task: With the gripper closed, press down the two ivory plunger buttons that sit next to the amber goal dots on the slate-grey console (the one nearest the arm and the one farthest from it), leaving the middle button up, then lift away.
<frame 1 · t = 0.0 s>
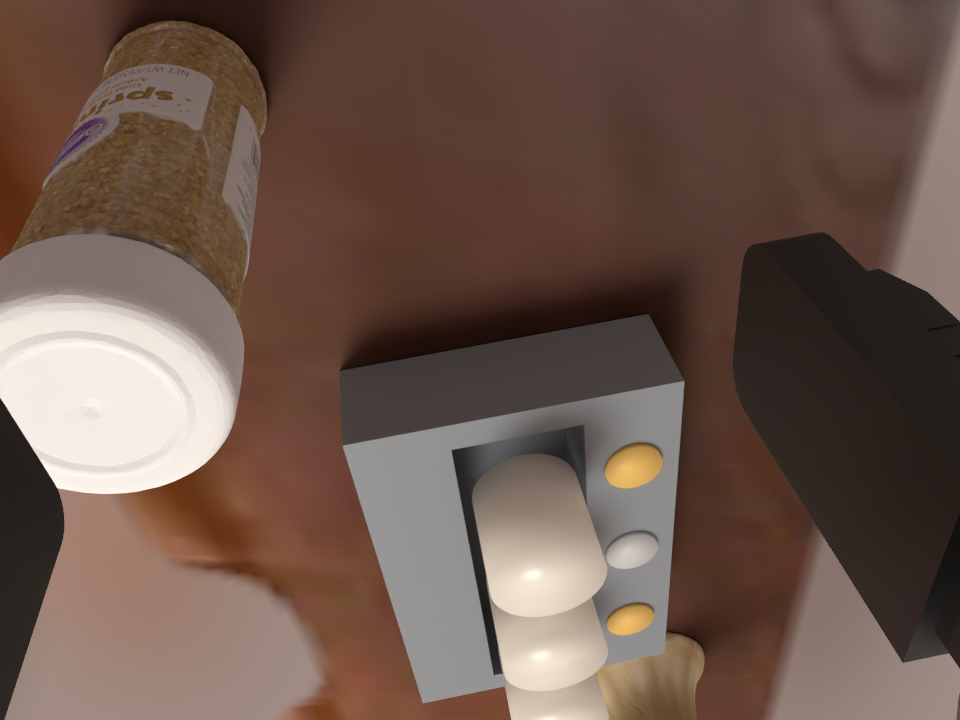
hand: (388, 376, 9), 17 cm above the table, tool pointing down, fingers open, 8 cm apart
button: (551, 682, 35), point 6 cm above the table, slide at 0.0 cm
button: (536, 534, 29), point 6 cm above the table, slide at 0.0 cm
console: (514, 495, 37), on the table
hand bell: (635, 668, 49), on the table
button middle: (544, 616, 32), point 6 cm above the table, slide at 0.0 cm
sprinkles bottle: (189, 95, 24), on the table
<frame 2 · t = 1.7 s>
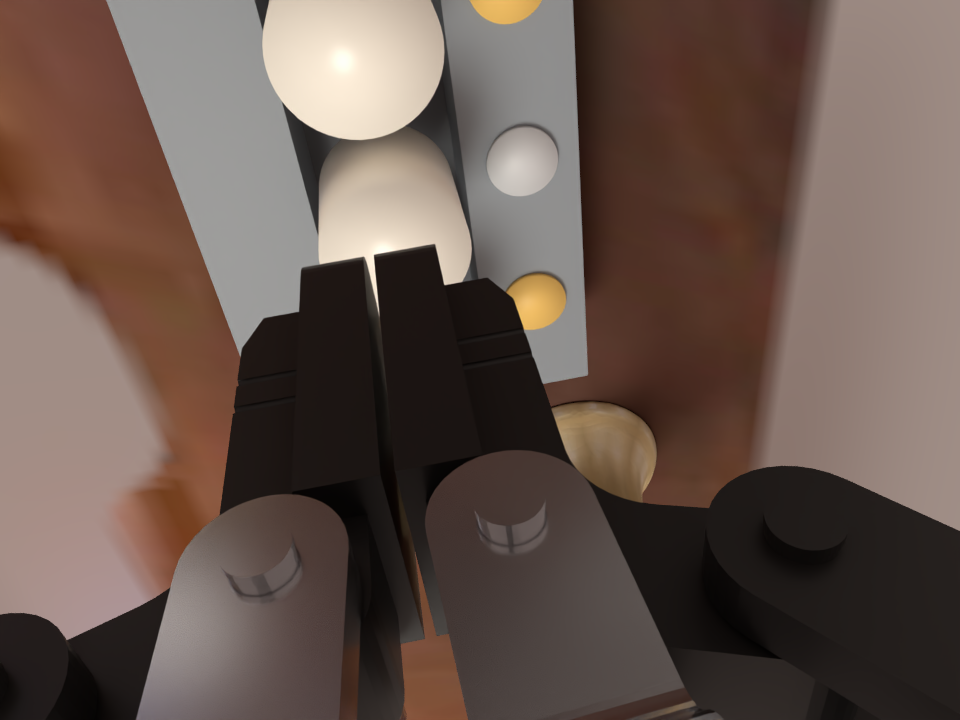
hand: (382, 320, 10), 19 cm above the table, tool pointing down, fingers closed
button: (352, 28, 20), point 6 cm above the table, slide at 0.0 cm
console: (378, 133, 28), on the table
hand bell: (570, 463, 39), on the table
button middle: (391, 219, 23), point 6 cm above the table, slide at 0.0 cm
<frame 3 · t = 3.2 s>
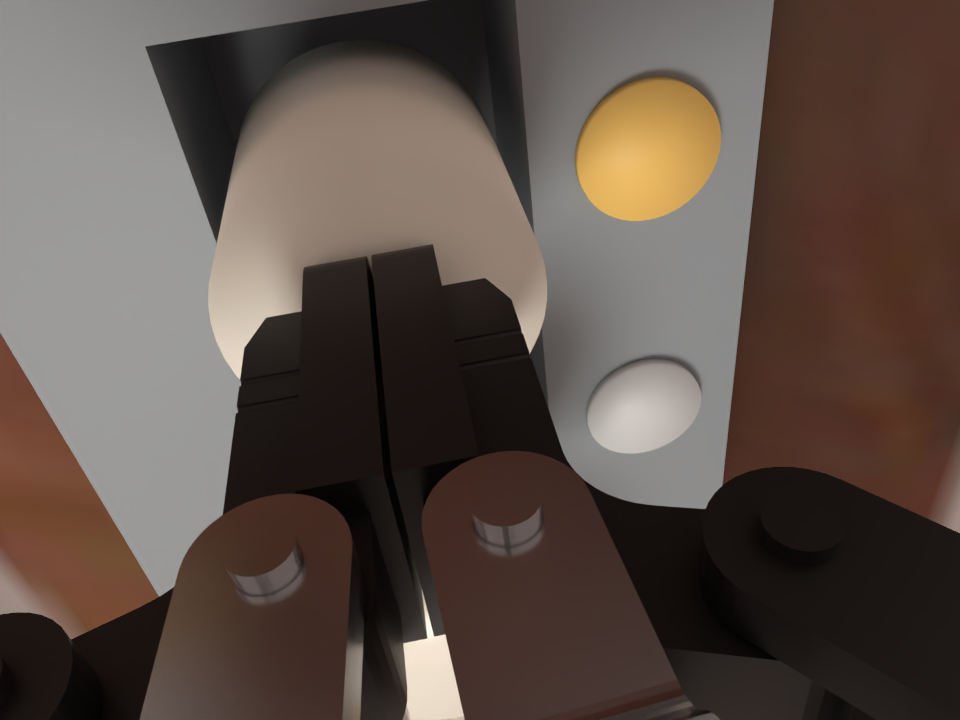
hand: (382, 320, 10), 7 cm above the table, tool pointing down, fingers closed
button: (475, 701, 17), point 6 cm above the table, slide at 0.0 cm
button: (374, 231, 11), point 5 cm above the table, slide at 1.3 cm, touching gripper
console: (407, 324, 18), on the table
button middle: (439, 540, 14), point 6 cm above the table, slide at 0.0 cm
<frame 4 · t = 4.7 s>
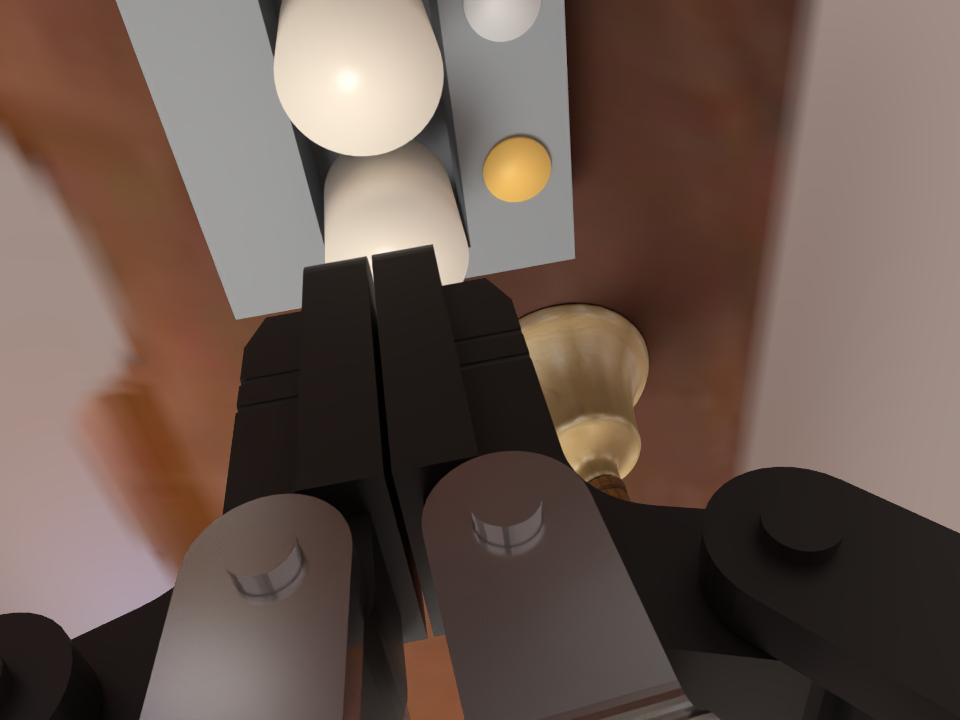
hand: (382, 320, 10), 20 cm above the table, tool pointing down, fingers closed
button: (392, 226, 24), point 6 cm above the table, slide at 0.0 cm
hand bell: (559, 374, 38), on the table
button middle: (356, 50, 21), point 6 cm above the table, slide at 0.0 cm
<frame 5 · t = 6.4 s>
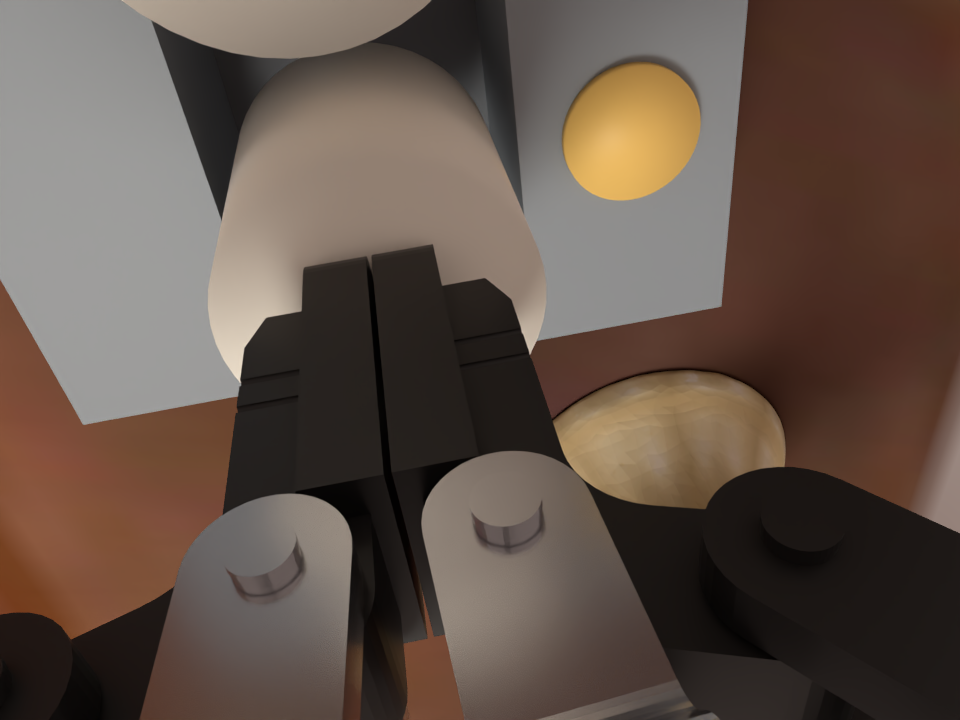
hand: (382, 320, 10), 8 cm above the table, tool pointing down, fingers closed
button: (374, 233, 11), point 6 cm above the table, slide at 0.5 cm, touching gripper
hand bell: (644, 473, 24), on the table
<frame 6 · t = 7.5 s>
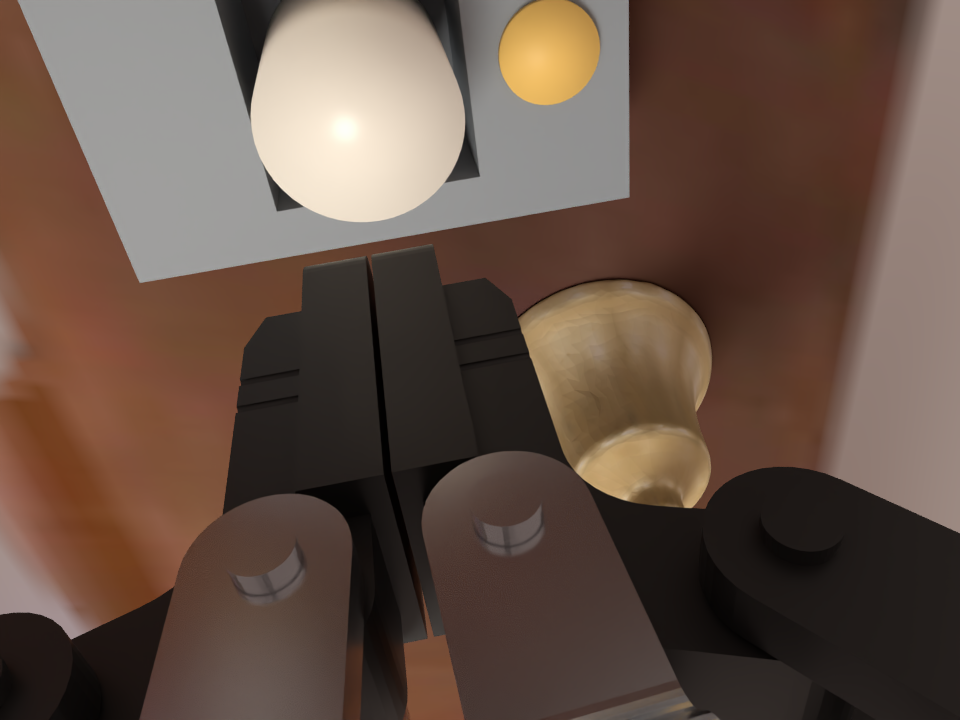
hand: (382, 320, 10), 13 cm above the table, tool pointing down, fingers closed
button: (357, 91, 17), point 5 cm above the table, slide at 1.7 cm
hand bell: (594, 376, 29), on the table
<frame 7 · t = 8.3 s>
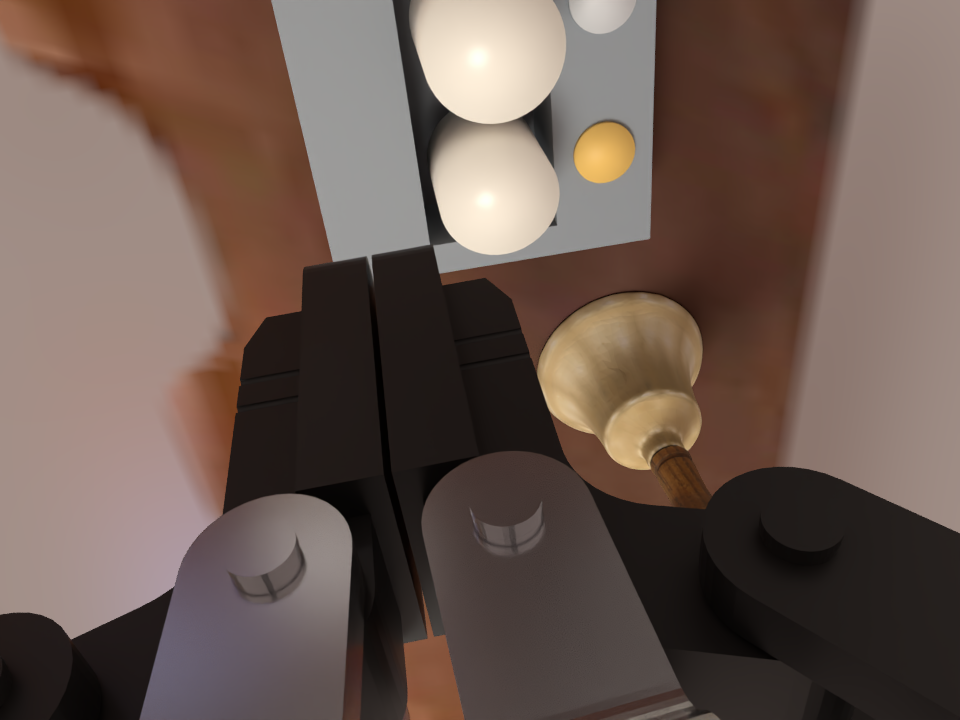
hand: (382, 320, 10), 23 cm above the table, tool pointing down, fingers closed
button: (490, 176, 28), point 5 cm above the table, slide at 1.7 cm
hand bell: (617, 361, 40), on the table
button middle: (483, 33, 24), point 6 cm above the table, slide at 0.0 cm
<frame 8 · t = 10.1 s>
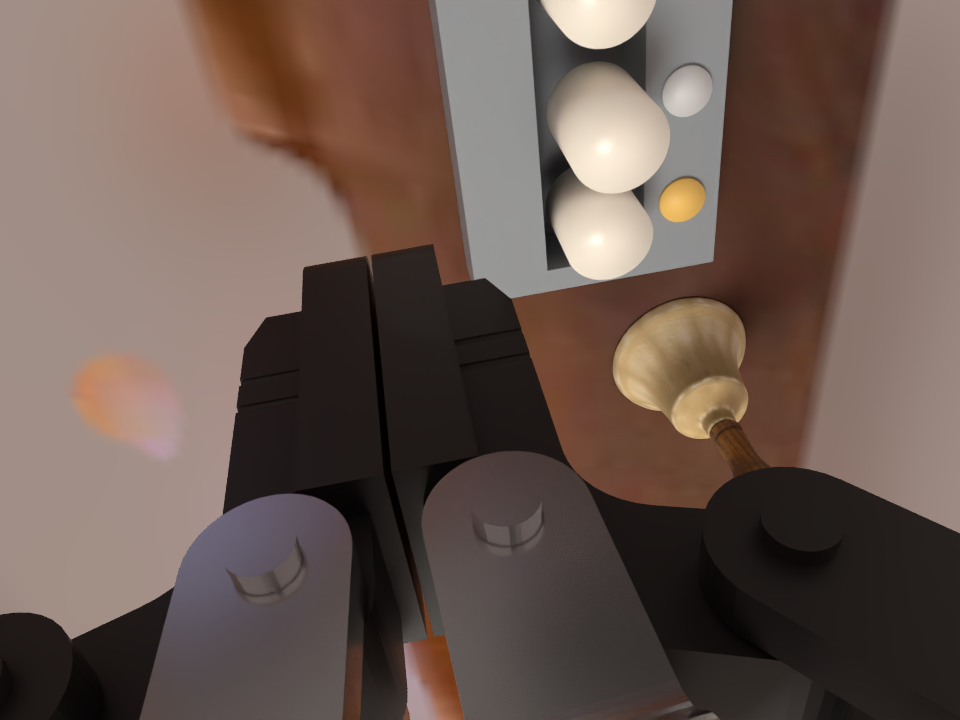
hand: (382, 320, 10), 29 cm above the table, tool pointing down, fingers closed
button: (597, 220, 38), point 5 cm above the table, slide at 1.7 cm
console: (568, 76, 38), on the table
hand bell: (677, 352, 50), on the table
button middle: (605, 126, 33), point 6 cm above the table, slide at 0.0 cm
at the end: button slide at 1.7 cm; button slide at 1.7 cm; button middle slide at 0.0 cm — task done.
